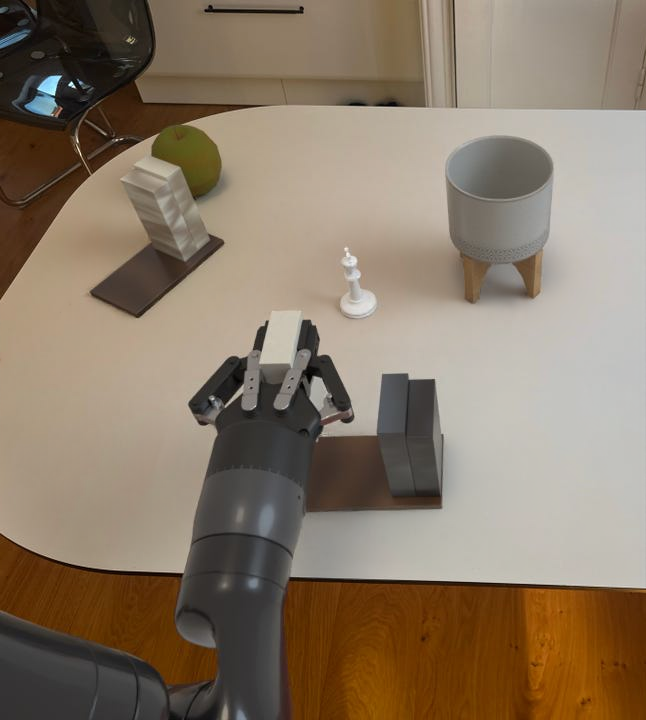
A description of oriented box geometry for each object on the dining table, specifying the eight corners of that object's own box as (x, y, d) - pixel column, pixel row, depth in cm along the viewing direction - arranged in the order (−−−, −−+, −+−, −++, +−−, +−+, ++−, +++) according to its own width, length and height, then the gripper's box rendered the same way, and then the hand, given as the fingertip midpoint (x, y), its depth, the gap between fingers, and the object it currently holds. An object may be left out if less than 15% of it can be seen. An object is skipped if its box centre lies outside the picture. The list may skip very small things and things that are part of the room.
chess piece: (371, 288, 96) (360, 231, 89) (381, 312, 93) (371, 256, 86) (336, 298, 95) (322, 241, 88) (345, 323, 92) (331, 266, 85)
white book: (290, 442, 67) (258, 363, 58) (299, 392, 71) (271, 310, 62) (317, 442, 67) (289, 363, 58) (325, 392, 71) (300, 310, 62)
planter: (564, 269, 98) (575, 160, 84) (507, 323, 92) (508, 215, 78) (492, 231, 103) (491, 123, 89) (433, 280, 97) (422, 171, 83)
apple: (155, 186, 112) (127, 124, 103) (211, 161, 116) (188, 100, 107) (183, 216, 107) (156, 154, 98) (240, 190, 111) (219, 128, 102)
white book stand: (138, 318, 94) (93, 241, 83) (91, 295, 97) (42, 218, 86) (224, 243, 103) (194, 165, 92) (179, 224, 106) (145, 147, 95)
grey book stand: (301, 511, 75) (270, 444, 65) (313, 440, 81) (286, 368, 71) (442, 508, 75) (433, 440, 65) (443, 437, 81) (435, 364, 70)
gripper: (339, 470, 50) (362, 295, 61) (141, 473, 50) (200, 298, 61) (355, 519, 55) (373, 351, 66) (177, 522, 55) (225, 353, 66)
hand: (290, 326), depth 63 cm, fingers closed on white book, 2 cm apart
